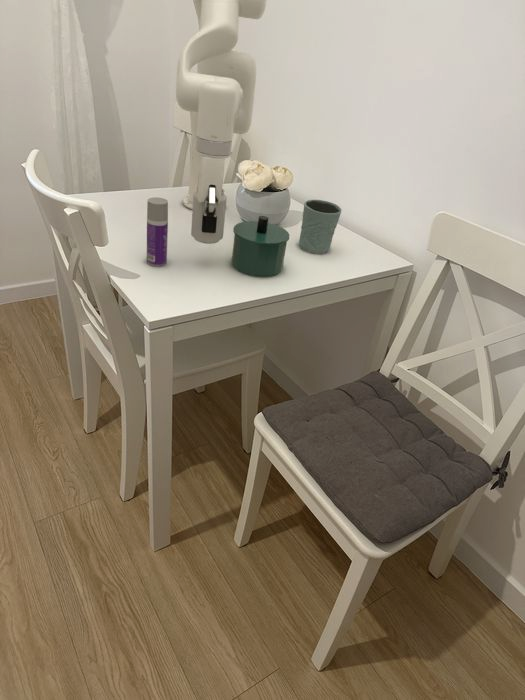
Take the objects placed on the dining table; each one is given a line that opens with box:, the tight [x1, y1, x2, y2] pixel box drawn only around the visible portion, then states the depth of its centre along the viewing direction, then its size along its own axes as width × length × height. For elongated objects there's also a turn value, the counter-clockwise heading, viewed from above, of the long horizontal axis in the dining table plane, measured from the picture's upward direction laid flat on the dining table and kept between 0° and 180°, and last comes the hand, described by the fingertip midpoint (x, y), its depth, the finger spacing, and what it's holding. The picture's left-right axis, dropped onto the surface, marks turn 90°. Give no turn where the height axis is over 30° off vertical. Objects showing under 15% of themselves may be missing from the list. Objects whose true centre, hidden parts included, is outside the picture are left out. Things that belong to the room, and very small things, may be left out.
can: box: [190, 187, 227, 245], centre depth 117 cm, size 8×8×12 cm
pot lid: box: [232, 215, 290, 245], centre depth 122 cm, size 14×14×5 cm
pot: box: [231, 233, 288, 278], centre depth 125 cm, size 13×13×8 cm
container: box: [146, 196, 169, 268], centre depth 117 cm, size 5×5×15 cm
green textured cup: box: [298, 199, 342, 255], centre depth 138 cm, size 10×10×12 cm
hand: (207, 225), depth 119 cm, fingers closed on can, 7 cm apart
